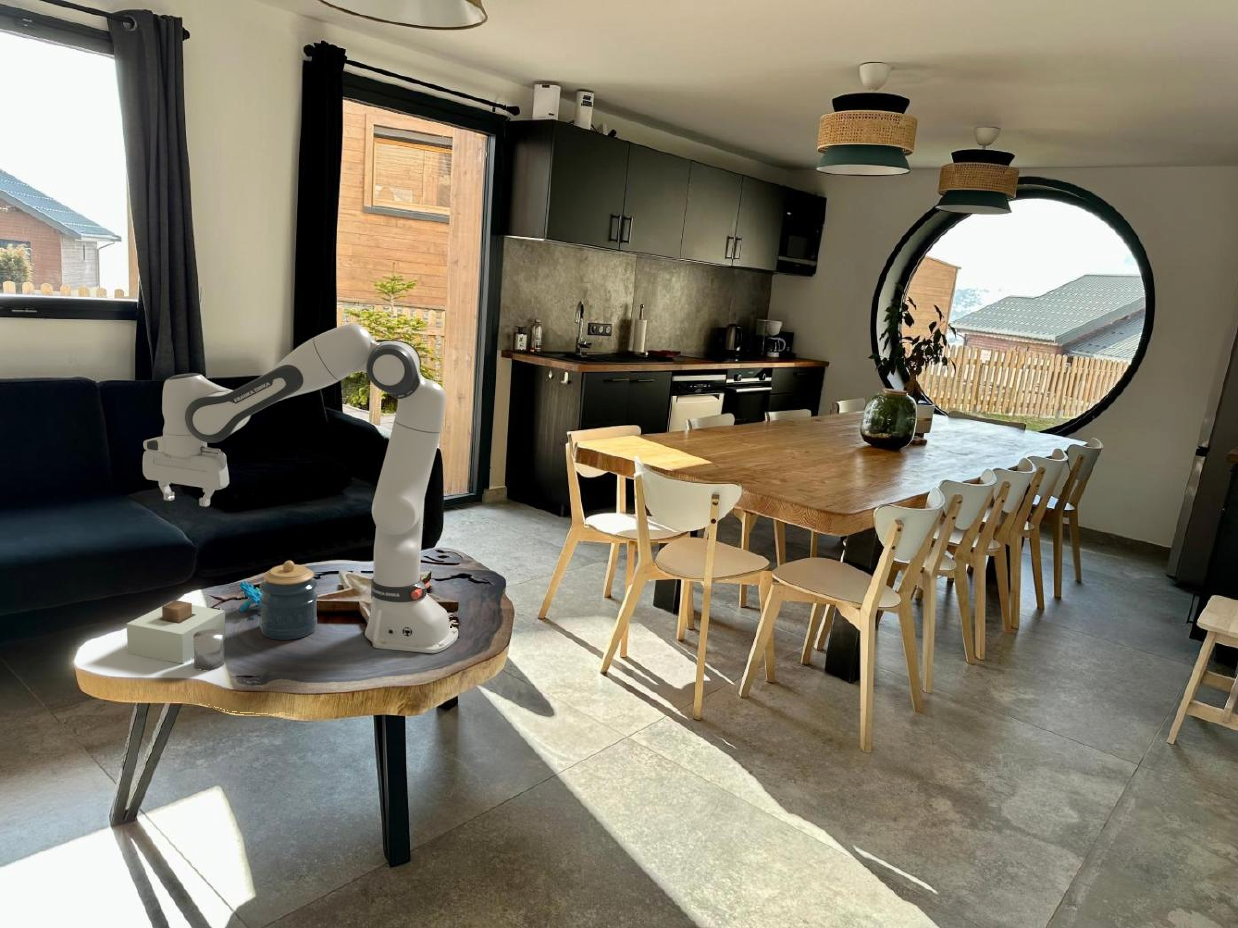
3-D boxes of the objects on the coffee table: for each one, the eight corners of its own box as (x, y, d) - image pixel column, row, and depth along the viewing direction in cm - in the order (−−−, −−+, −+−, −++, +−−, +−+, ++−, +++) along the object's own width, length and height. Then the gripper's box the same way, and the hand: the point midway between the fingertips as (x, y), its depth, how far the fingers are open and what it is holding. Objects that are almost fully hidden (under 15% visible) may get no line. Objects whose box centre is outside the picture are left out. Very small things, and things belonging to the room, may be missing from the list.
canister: (303, 614, 214) (303, 548, 210) (326, 632, 205) (327, 564, 201) (251, 626, 205) (250, 557, 201) (273, 645, 196) (272, 574, 192)
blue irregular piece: (272, 611, 210) (241, 584, 207) (253, 628, 209) (222, 601, 206) (275, 600, 221) (246, 574, 218) (258, 616, 220) (229, 591, 217)
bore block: (225, 638, 197) (224, 610, 196) (183, 663, 184) (182, 634, 182) (173, 628, 200) (172, 601, 198) (127, 652, 186) (126, 623, 185)
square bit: (192, 643, 193) (191, 603, 191) (179, 651, 189) (178, 609, 187) (177, 640, 194) (175, 600, 192) (163, 647, 190) (162, 606, 188)
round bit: (230, 660, 187) (230, 631, 186) (212, 672, 181) (211, 642, 180) (206, 656, 188) (205, 627, 187) (187, 667, 182) (187, 637, 181)
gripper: (234, 447, 192) (235, 505, 195) (157, 436, 196) (159, 493, 199) (216, 452, 186) (217, 512, 189) (136, 441, 190) (139, 499, 193)
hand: (186, 502), depth 194 cm, fingers open, 8 cm apart
